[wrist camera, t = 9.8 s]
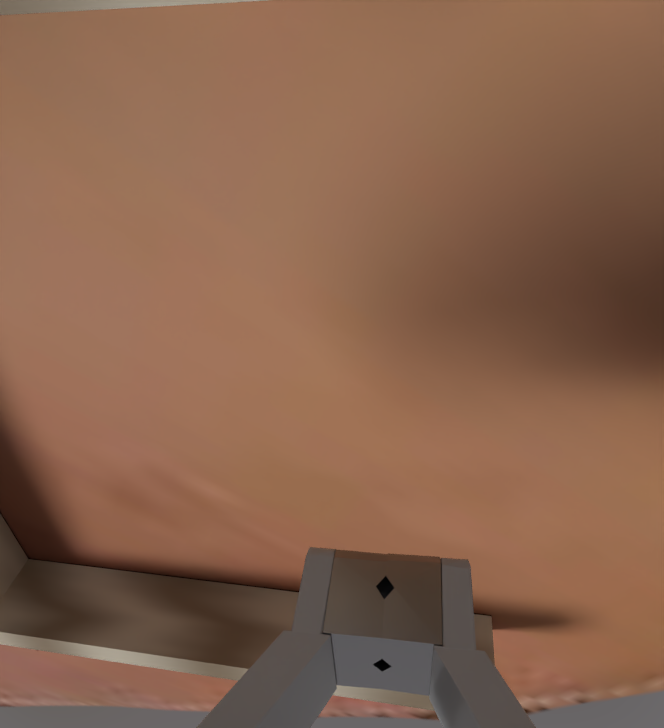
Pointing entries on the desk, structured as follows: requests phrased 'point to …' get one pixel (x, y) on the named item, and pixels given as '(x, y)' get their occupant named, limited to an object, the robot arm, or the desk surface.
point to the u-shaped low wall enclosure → (152, 577)
